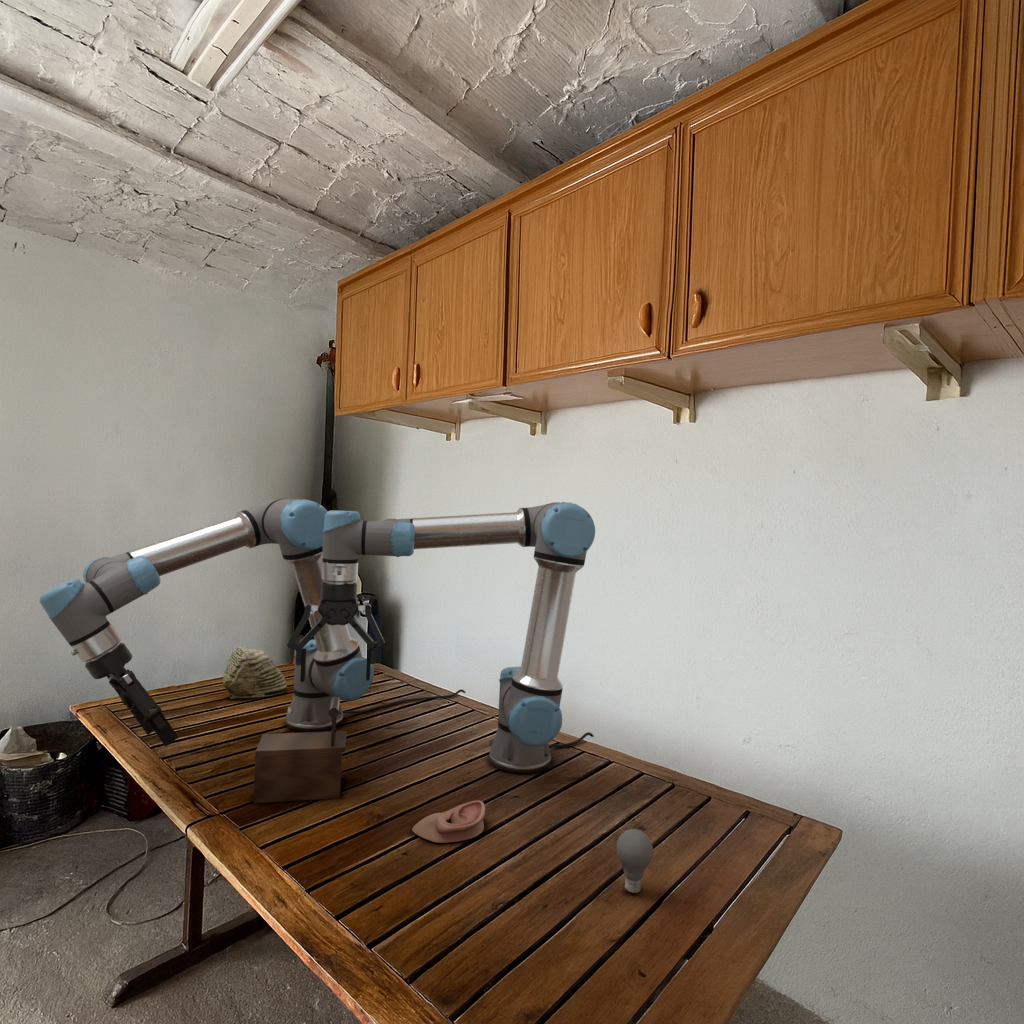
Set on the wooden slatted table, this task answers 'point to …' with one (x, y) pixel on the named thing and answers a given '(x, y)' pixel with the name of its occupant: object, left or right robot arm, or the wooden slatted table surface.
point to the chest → (297, 777)
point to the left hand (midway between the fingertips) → (162, 735)
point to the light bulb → (634, 857)
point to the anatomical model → (453, 823)
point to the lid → (305, 739)
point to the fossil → (252, 674)
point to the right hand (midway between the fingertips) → (335, 679)
